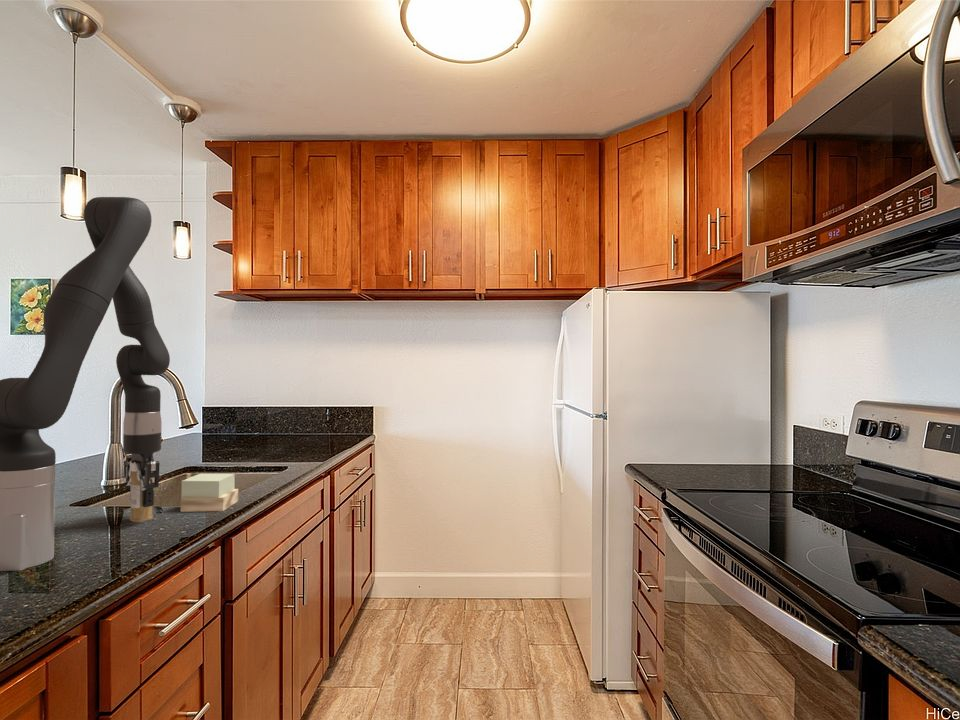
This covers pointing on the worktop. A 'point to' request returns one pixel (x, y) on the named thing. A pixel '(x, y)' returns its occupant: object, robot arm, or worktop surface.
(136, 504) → the sprinkles bottle
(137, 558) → the worktop surface
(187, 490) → the tower top
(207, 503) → the tower base
